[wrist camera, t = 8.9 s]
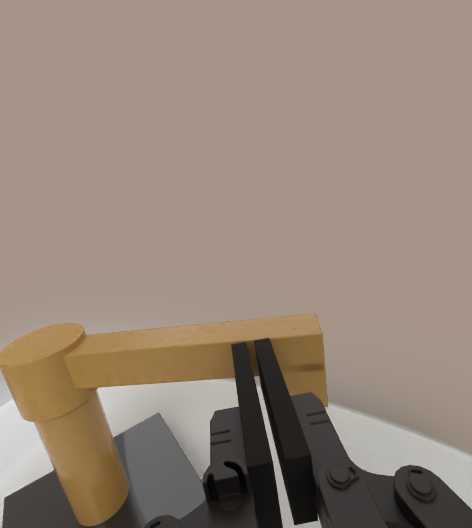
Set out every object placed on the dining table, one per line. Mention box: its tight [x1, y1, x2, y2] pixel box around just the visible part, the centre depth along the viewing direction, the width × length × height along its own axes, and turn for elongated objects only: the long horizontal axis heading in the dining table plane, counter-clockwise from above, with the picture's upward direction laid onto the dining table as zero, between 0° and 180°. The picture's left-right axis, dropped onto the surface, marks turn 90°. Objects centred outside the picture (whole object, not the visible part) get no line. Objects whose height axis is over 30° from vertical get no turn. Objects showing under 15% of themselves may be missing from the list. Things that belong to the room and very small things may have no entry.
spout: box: [0, 314, 328, 422], centre depth 18 cm, size 18×4×5 cm, turn 85°
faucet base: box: [2, 390, 206, 528], centre depth 21 cm, size 12×10×10 cm
